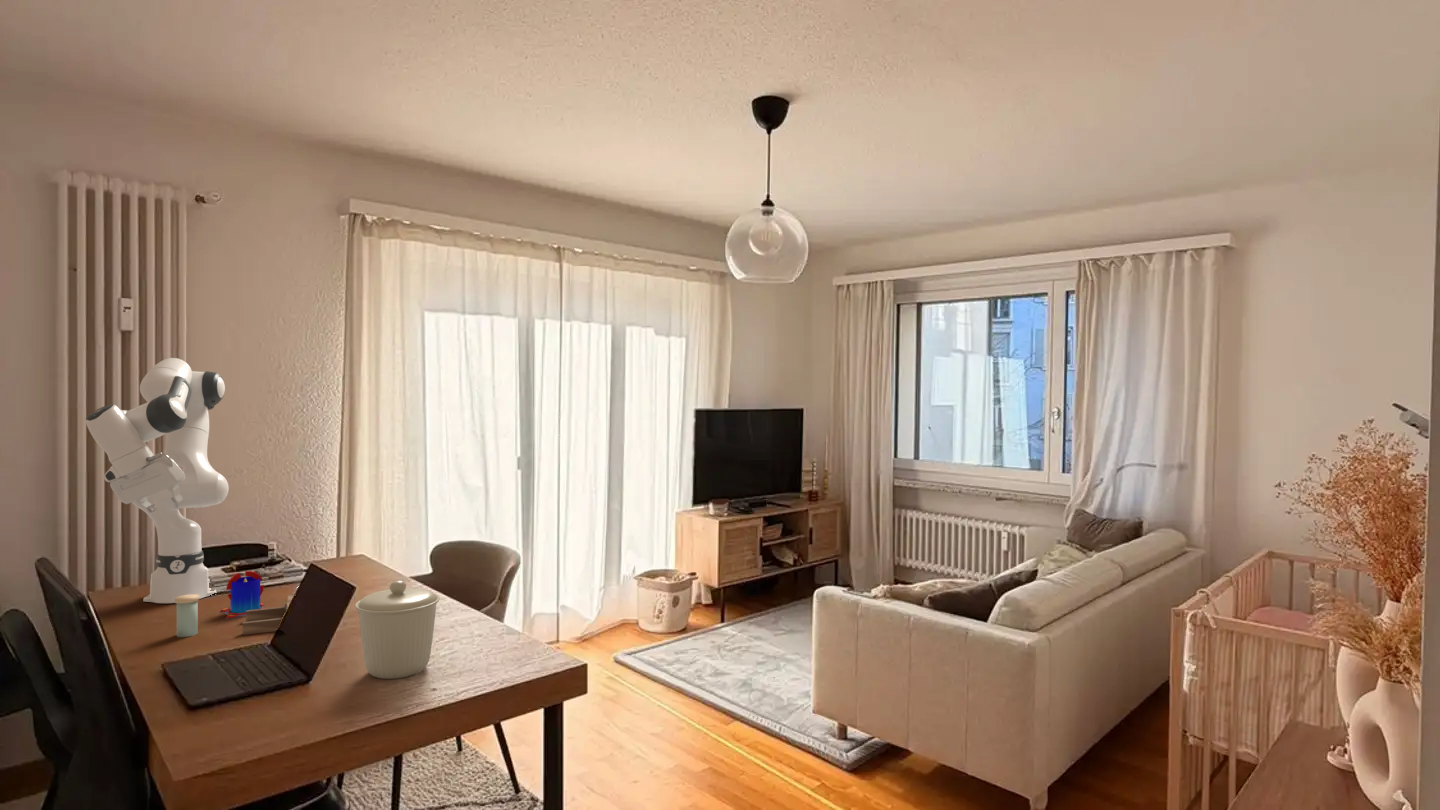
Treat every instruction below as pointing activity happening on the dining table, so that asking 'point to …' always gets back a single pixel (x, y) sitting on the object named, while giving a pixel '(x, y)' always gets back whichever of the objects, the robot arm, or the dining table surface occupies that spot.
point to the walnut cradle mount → (264, 619)
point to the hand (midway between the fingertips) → (166, 506)
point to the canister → (397, 630)
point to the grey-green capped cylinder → (187, 615)
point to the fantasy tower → (244, 594)
